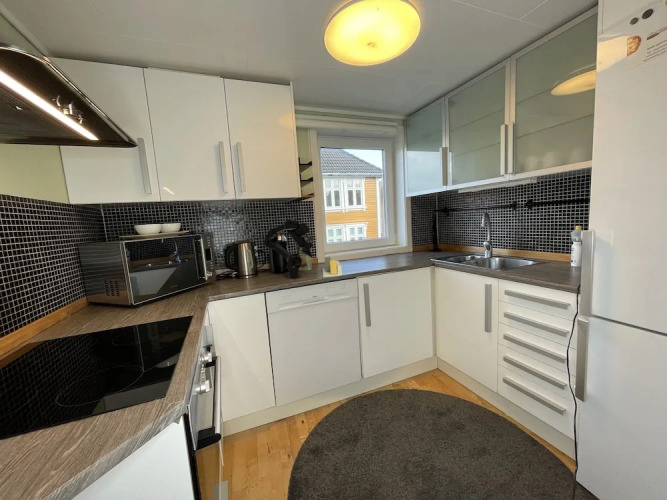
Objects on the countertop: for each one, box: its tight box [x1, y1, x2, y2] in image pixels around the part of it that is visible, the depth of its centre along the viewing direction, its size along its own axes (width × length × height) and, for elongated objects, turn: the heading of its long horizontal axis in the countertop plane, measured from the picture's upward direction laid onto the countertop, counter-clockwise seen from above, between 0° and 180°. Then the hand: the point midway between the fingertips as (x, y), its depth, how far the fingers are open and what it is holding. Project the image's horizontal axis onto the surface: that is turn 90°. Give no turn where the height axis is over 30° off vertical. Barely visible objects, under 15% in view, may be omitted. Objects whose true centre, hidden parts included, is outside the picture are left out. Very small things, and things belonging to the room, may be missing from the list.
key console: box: [322, 260, 343, 278], centre depth 188 cm, size 12×28×6 cm, turn 3°
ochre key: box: [330, 259, 337, 274], centre depth 178 cm, size 4×6×8 cm, turn 3°
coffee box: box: [296, 248, 313, 271], centre depth 207 cm, size 9×6×16 cm
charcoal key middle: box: [324, 257, 332, 272], centre depth 188 cm, size 4×6×8 cm, turn 3°
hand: (311, 256), depth 179 cm, fingers closed
